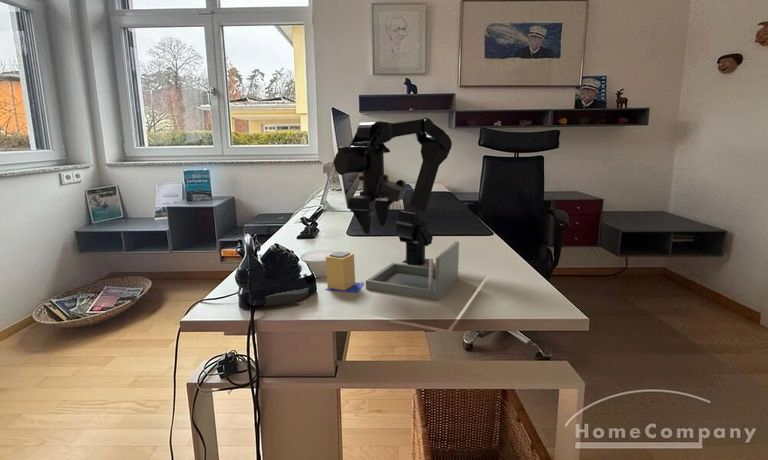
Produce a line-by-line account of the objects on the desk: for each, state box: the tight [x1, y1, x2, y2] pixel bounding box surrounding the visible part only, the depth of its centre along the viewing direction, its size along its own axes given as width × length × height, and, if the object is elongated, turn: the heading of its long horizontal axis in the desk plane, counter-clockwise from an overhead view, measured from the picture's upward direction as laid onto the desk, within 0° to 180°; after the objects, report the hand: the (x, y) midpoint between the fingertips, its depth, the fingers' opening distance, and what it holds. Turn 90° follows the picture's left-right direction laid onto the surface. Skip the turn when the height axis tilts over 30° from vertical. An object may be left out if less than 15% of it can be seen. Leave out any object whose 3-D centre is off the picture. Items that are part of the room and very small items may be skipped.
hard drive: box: [325, 282, 366, 294], centre depth 107 cm, size 2×8×12 cm
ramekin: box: [299, 249, 337, 279], centre depth 118 cm, size 11×11×5 cm
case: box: [365, 240, 460, 301], centre depth 107 cm, size 16×19×11 cm
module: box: [326, 250, 356, 291], centre depth 106 cm, size 5×5×8 cm
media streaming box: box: [263, 286, 310, 307], centre depth 104 cm, size 15×15×3 cm
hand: (375, 229), depth 114 cm, fingers open, 9 cm apart
